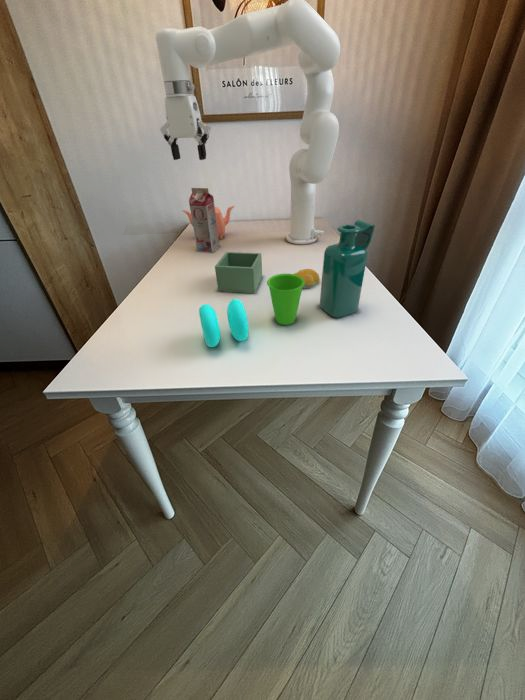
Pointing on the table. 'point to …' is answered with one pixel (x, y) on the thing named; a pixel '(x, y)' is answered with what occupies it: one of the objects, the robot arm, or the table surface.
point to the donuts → (235, 320)
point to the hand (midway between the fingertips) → (189, 159)
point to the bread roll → (308, 277)
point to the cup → (285, 296)
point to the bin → (239, 272)
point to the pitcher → (345, 269)
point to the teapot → (217, 220)
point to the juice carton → (204, 219)
